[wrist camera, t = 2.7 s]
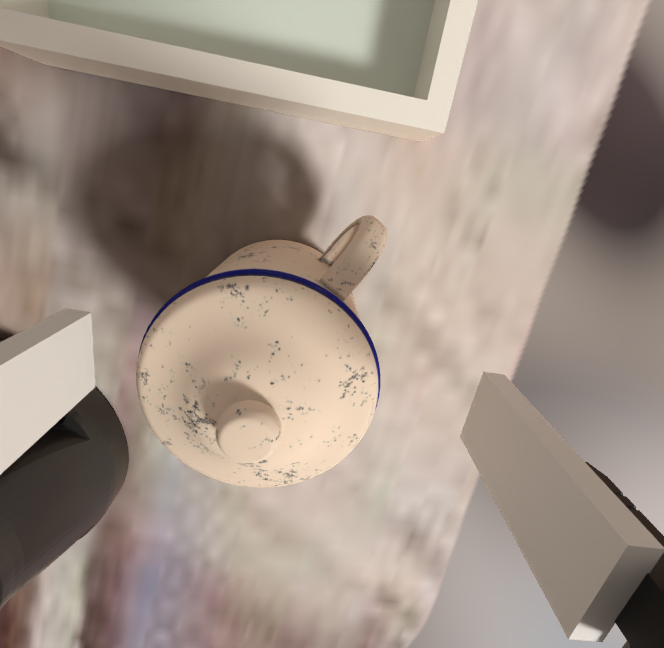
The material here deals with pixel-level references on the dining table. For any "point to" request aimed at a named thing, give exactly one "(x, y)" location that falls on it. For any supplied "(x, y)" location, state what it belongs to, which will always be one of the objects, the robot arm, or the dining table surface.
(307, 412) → the teacup with lid
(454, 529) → the dining table surface
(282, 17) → the tray
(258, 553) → the dining table surface
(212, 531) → the dining table surface
